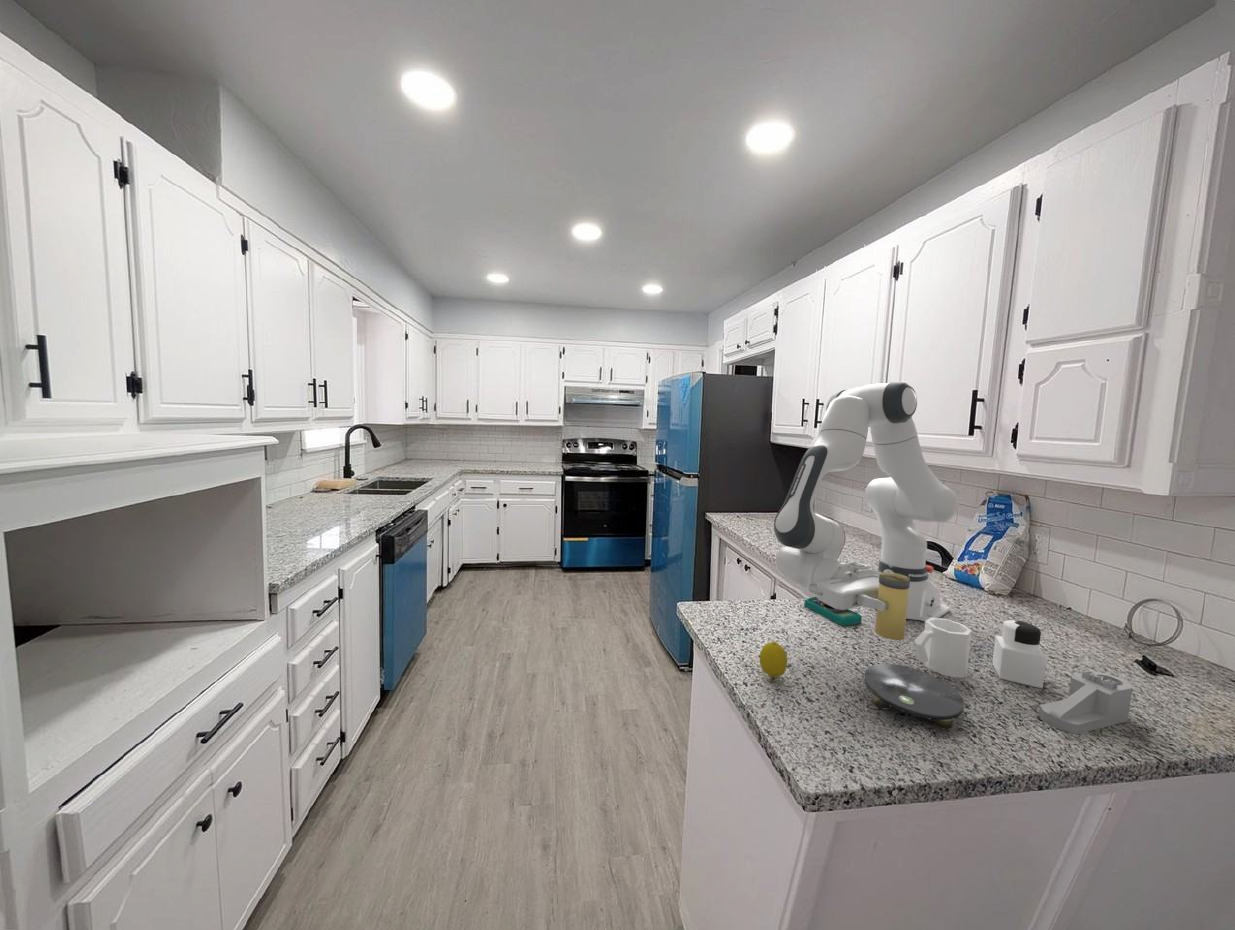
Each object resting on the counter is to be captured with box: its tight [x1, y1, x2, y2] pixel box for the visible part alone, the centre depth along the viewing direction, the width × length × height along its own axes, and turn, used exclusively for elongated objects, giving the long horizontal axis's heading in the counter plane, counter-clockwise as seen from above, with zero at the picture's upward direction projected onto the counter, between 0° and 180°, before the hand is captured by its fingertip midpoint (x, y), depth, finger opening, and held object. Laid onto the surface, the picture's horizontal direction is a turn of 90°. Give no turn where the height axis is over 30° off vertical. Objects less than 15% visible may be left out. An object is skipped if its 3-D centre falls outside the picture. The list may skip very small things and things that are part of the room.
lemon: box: [759, 641, 788, 679], centre depth 94 cm, size 6×6×8 cm
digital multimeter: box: [803, 596, 862, 627], centre depth 127 cm, size 7×15×3 cm, turn 21°
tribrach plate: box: [864, 663, 965, 730], centre depth 86 cm, size 16×16×4 cm
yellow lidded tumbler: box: [874, 572, 910, 641], centre depth 88 cm, size 5×5×12 cm
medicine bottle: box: [992, 619, 1047, 689], centre depth 97 cm, size 7×7×12 cm
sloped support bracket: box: [1038, 670, 1133, 735], centre depth 83 cm, size 6×18×8 cm, turn 106°
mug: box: [913, 617, 973, 679], centre depth 99 cm, size 12×9×10 cm
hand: (896, 604), depth 87 cm, fingers closed on yellow lidded tumbler, 5 cm apart
